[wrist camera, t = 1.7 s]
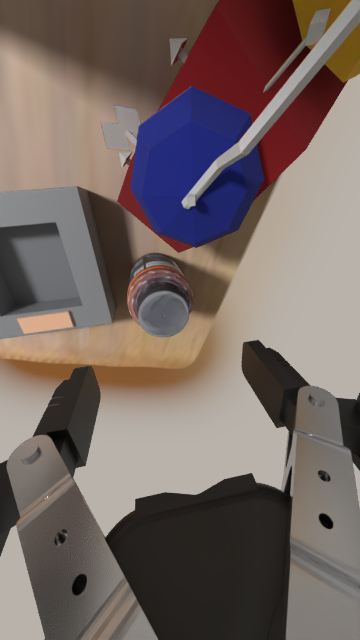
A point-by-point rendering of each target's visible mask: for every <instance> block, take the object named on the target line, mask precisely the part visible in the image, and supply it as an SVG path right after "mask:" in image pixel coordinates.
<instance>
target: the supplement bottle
mask: <svg viewBox="0 0 360 640" xmlns="http://www.w3.org/2000/svg"><path fill="white" fill-rule="evenodd" d="M193 297H194V296H193V292H192V289H191V286H190V284H189V283H188V281H187V279H186V278H185V276H184V275H183V273H182V272H181V271H180V269H179V268H178V266H177V265H176V263H175V262H174V261H173V260H172V259H171V258H169V257H168V256H166V255H164V254H161V253H149V254H146V255H144V256H142V257H140V258H139V259H138V260H137V261H136V262H135V264H134V265H133V267H132V270H131V273H130V279H129V286H128V292H127V305H128V309H129V312H130V314H131V316H132V317H133V319H134V320H135V321H136V322H137V323H138V324H139V325H141V326H142V328H143V329H144V330H145V331H146V332H147V333H149V334H151V335H153V336H156V337H169V336H173V335H175V334H177V333H179V332H180V331H181V330H182V329H183V328H184V327H185V325H186V324H187V322H188V319H189V315H190V313H191V310H192V307H193V301H194V298H193Z"/></svg>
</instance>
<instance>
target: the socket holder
mask: <svg viewBox="0 0 360 640" xmlns="http://www.w3.org/2000/svg"><path fill="white" fill-rule="evenodd" d="M115 311H116V306H115V302H114V298H113V293H112V289H111V285H110V281H109V277H108V273H107V269H106V265H105V260H104V256H103V252H102V248H101V244H100V240H99V236H98V232H97V227H96V223H95V219H94V215H93V211H92V207H91V203H90V198H89V194H88V190H86V189H83V188H80V187H78V186H73V187H60V188H47V189H34V190H22V191H9V192H0V339H5V338H12V337H19V336H26V335H33V334H40V333H47V332H54V331H61V330H68V329H75V328H82V327H89V326H96V325H103V324H110V323H113V319H114V315H115Z"/></svg>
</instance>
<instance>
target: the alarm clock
mask: <svg viewBox="0 0 360 640" xmlns="http://www.w3.org/2000/svg"><path fill="white" fill-rule="evenodd" d="M187 39H188V38H174V39H169V40H170V54H171V66H172V65H173V64H174V63H175V62H176V61H177V60H178V58H179V59H180V61H181V62H182V63H183V66H182V68H181V70H180V72H179V73H178V75H177V77H176V79H175V81H174V82H173V84H172V86H171V88H170V90H169V92H168V93H167V95H166V97H165V99H164V101H163V102H162V104H161V106H160V108H159V110H158V112H156V113H155V114H154V115H152V116H151V117H150V118H148V119H147V120H146V121H144V122H143V123H142V124H140V120H139V115H138V111H137V109H132V108H127V107H121V106H116V105H114V108H115V112H116V116H117V121H118V124H114V123H107V122H101V121H100V122H101V126H102V130H103V135H104V139H105V143H106V147H107V148H108V149H118V150H127V151H131V150H130V146H129V141H128V139H129V140H130V141H131V142H132V143H133V144H134V145H135V146H136V150H135V153H134V155H133V157H132V159H131V160H130V159H129V158H130V155H131V153H132V152H120V153H119V156H120V161H121V167H122V168H123V167H124V165H125V164H126V163H127V164H128V165H129V167H128V170H127V173H126V176H125V180H124V183H123V186H122V189H121V192H120V195H119V198H118V201H117V202H119V203H120V204H121V205H122V206H123V207H125V208H126V209H127V210H128V211H129V212H131V213H132V214H133V215H134V216H135V217H137V218H138V219H139V220H140V221H141V222H142V223H144V224H145V225H146V226H147V227H148V228H150V229H151V230H152V231H153V232H154V233H156V234H157V235H158V236H159V237H160V238H162V239H163V240H164V241H165V242H166V243H167V244H169V245H170V246H171V247H172V248H173V249H175V250H176V251H177V252H178V253H179V252H182V251H184V250H187V249H190V248H192V247H196V248H197V247H199V246H202V245H204V244H206V243H209V242H211V241H213V240H216V239H218V238H220V237H223V236H225V235H227V234H230V233H232V232H234V231H237V230H238V229H239V227H240V225H241V223H242V221H243V219H244V218H245V216H246V214H247V212H248V210H249V208H250V206H251V204H252V202H253V201H254V200H255V199H256V198H257V197H258V196H259V195H260V194H261V193H262V192H263V191H264V190H265V189H266V188H267V187H268V186H269V185H270V184H271V183H272V182H273V181H274V180H275V179H276V178H277V177H278V176H279V175H280V174H281V173H282V172H283V171H284V170H285V169H286V168H287V167H288V166H289V165H290V164H291V163H292V162H293V161H295V160H296V158H298V157H299V156H300V155H301V154H302V152H304V151H305V150H306V148H307V147H308V145H309V143H310V142H311V140H312V138H313V137H314V135H315V133H316V132H317V130H318V129H319V127H320V125H321V124H322V122H323V120H324V118H325V117H326V115H327V114H328V112H329V110H330V109H331V107H332V106H333V104H334V102H335V101H336V99H337V97H338V96H339V94H340V92H341V91H342V89H343V88H344V86H345V84H346V83H347V81H348V80H349V79H351V78H353V77H355V76H357V75H358V74H360V0H219V2H218V3H217V5H216V6H215V8H214V10H213V11H212V13H211V15H210V17H209V19H208V21H207V22H206V24H205V26H204V28H203V30H202V31H201V33H200V35H199V37H198V39H197V41H196V42H195V44H194V46H193V48H192V50H191V51H190V53H189V55H187V54H186V53H185V51H184V50H183V48H184V46H185V44H186V41H187ZM132 133H133V134H138V135H137V138H136V137H135V136H134V135H133V134H132Z"/></svg>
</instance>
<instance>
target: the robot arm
mask: <svg viewBox="0 0 360 640" xmlns="http://www.w3.org/2000/svg"><path fill="white" fill-rule="evenodd" d="M242 371H243V374H244V376H245V378H246V380H247V381H248V383H249V384H250V386H251V388H252V389H253V391H254V392H255V394H256V396H257V397H258V399H259V400H260V402H261V404H262V405H263V407H264V408H265V410H266V412H267V413H268V415H269V417H270V418H271V420H272V421H273V423H274V424H275V426H276V428H279V427H284V426H286V428H287V429H288V431H289V432H288V438H287V448H286V457H285V467H284V475H283V482H282V487H281V490H279V489H277V488H275V487H272V486H269V485H266V484H262V483H256V481H255V479H254V477H253V475H252V473H250V474H246V475H242V476H237V477H233V478H228V479H224V480H223V481H221V482H219V483H217V484H216V485H214V486H212V487H210V488H209V489H207V490H205V491H204V492H202V493H200V494H198V495H190V494H178V493H166V492H165V493H161V494H157V495H152V496H147V497H143V498H138V499H135V510H134V511H133V512H131V513H129V514H128V515H127V516H125V517H124V518H123V519H122V520H121V521H119V522H118V523H117V524H116V525H115V527H114V528H113V529H112V530H111V531H110V532H109V534H108V535H107V536H106V538H105V536H104V534H103V532H102V531H101V529H100V527H99V525H98V523H97V522H96V520H95V518H94V516H93V514H92V512H91V510H90V509H89V507H88V505H87V503H86V501H85V499H84V497H83V496H82V494H81V492H80V490H79V488H78V486H77V484H76V483H75V481H74V479H73V476H74V472H75V469H76V468H78V467H82V466H85V465H86V461H87V457H88V452H89V448H90V443H91V439H92V434H93V430H94V425H95V421H96V416H97V412H98V408H99V403H100V388H99V385H98V382H97V380H96V376H95V373H94V370H93V368H92V366H86V367H80V368H75V369H74V370H73V373H72V375H71V377H70V379H69V380H64V381H63V382H62V383H61V384H60V385H59V386H58V387H57V389H56V390H55V392H54V394H53V396H52V400H50V402H49V404H48V407H47V409H46V411H45V412H44V415H43V417H42V419H41V421H40V423H39V425H38V427H37V429H36V431H35V433H34V435H33V437H32V438H30V439H28V440H26V441H24V442H23V443H22V444H21V445H19V446H18V447H17V448H16V449H15V450H14V451H13V453H12V454H11V456H10V457H9V459H8V460H7V461H5V462H3V463H0V556H1V553H2V550H3V547H4V545H5V542H6V539H7V537H8V534H9V531H10V529H11V528H12V527H13V526H15V525H17V530H18V535H19V539H20V542H21V546H22V550H23V554H24V558H25V562H26V566H27V570H28V574H29V577H30V581H31V585H32V589H33V592H34V597H35V600H36V604H37V608H38V612H39V616H40V619H41V623H42V627H43V631H44V635H45V640H360V508H359V502H358V495H357V489H356V482H355V476H354V468H353V463H354V464H355V465H356V466H357V468H358V469H359V470H360V393H359V396H358V398H357V400H355V399H343V398H335V397H334V396H333V395H332V394H331V393H330V392H328V391H326V390H324V389H322V388H319V387H315V386H310V385H309V384H308V383H307V382H306V381H305V380H304V378H303V377H301V375H300V374H299V373H298V372H297V371H296V370H295V369H294V368H293V367H292V366H290V364H289V363H288V362H287V361H285V359H284V358H283V357H282V356H281V355H280V354H279V353H278V352H276V351H274V350H273V349H271V348H265V346H264V345H263V344H262V343H261V342H260V341H259V340H256V341H249V342H244V343H243V352H242ZM352 461H353V462H352Z"/></svg>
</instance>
